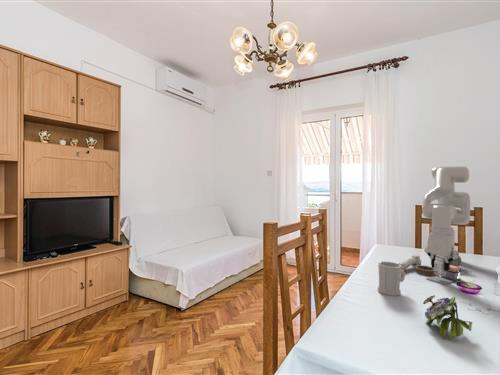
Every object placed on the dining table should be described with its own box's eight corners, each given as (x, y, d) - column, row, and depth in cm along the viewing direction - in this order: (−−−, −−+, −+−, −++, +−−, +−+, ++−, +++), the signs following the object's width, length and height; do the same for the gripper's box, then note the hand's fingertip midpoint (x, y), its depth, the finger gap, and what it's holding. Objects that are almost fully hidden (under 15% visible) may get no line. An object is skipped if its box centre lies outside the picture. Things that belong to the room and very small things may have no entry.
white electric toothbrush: (392, 264, 145) (412, 251, 161) (393, 276, 146) (413, 262, 161) (403, 266, 141) (423, 252, 156) (403, 279, 142) (423, 264, 157)
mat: (435, 276, 138) (435, 275, 138) (453, 282, 131) (453, 280, 131) (426, 279, 134) (426, 278, 134) (444, 284, 127) (444, 283, 127)
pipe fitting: (443, 263, 159) (445, 247, 157) (460, 268, 153) (462, 250, 152) (440, 271, 150) (442, 253, 148) (458, 275, 144) (460, 257, 143)
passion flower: (429, 343, 91) (422, 300, 98) (476, 347, 85) (464, 302, 92) (426, 335, 82) (418, 290, 90) (478, 340, 76) (465, 290, 84)
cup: (383, 285, 125) (383, 259, 125) (405, 291, 119) (406, 263, 118) (374, 291, 118) (374, 264, 118) (397, 298, 111) (397, 269, 111)
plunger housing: (447, 275, 139) (447, 268, 139) (460, 279, 134) (461, 271, 134) (440, 277, 136) (441, 269, 136) (454, 281, 131) (454, 273, 131)
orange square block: (447, 274, 139) (448, 264, 138) (459, 277, 134) (459, 267, 134) (442, 275, 136) (442, 265, 136) (453, 279, 132) (454, 268, 132)
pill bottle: (445, 273, 133) (446, 256, 133) (446, 276, 129) (446, 259, 129) (433, 272, 135) (434, 255, 135) (434, 274, 131) (434, 257, 131)
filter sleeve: (421, 269, 150) (421, 264, 150) (439, 273, 142) (439, 269, 142) (411, 271, 146) (411, 266, 146) (429, 276, 138) (429, 271, 138)
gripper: (418, 229, 137) (417, 265, 138) (457, 234, 122) (456, 275, 123) (426, 227, 141) (426, 263, 141) (465, 233, 126) (464, 272, 126)
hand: (440, 268), depth 132 cm, fingers closed on pill bottle, 4 cm apart
